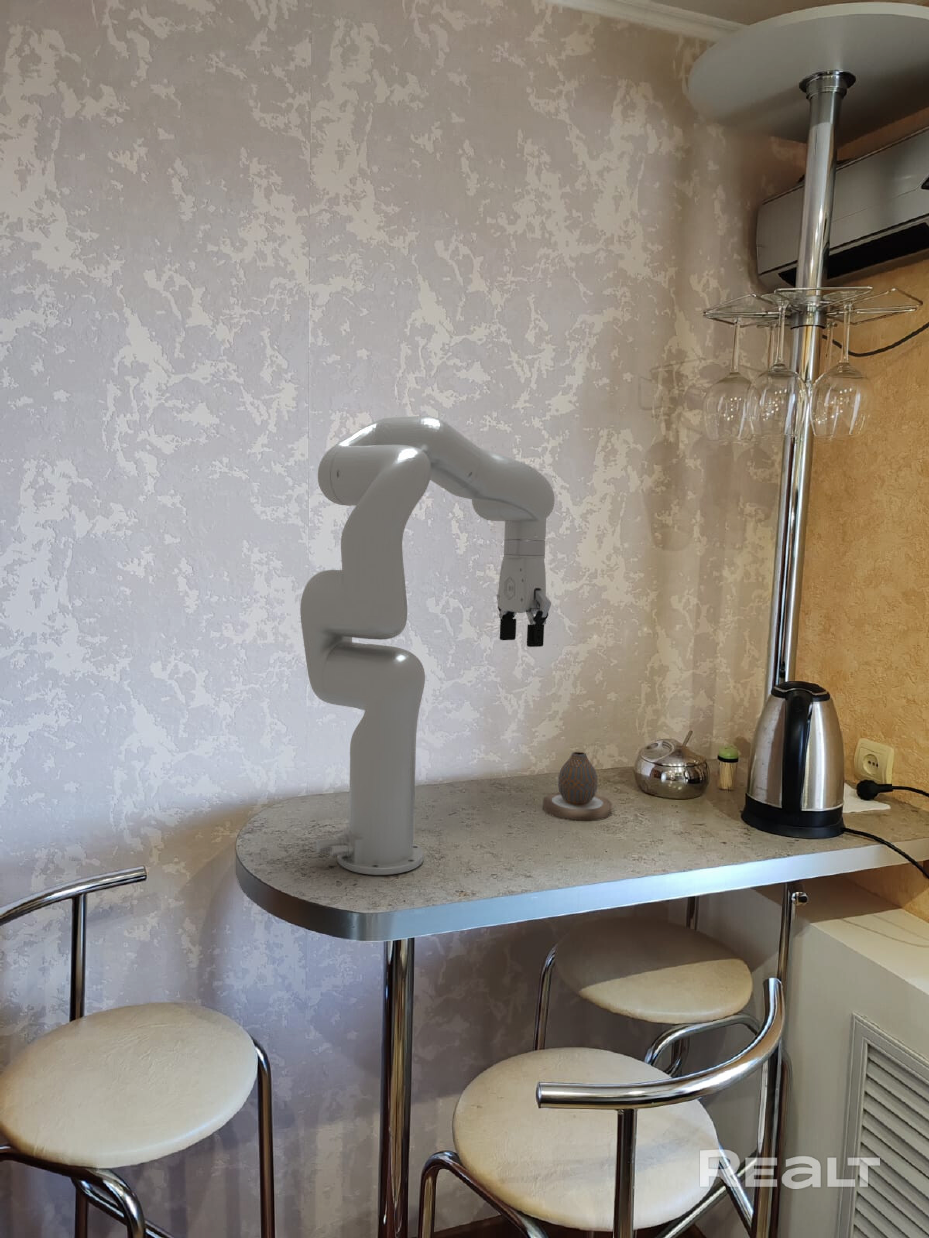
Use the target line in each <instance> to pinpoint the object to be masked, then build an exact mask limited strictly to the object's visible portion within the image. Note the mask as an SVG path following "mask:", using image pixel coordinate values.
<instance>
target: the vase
mask: <svg viewBox="0 0 929 1238" xmlns="http://www.w3.org/2000/svg"><path fill="white" fill-rule="evenodd" d="M598 781H599V780H598V775H597V771H596V769H595V767H594V766H593V764H592V762H591V761H590V760H589V758H588V755H587V753H586V752H584V751H573V752H572V753H571V755H570V756H569V758H568V759H567V760H566V762H564V764H563V765H562V767H561V768H560V770H559V773H558V779H557V783H558V784H557V786H558V791H559V792H560V794H561V796H562V798H563V799H564V800H565V801H566V802H567V803H569V804H574V805H585V804H587V803H589V802H590V801H591V800H592V799H593V798H594V796H595V795H597V790H598V783H599V782H598Z"/></svg>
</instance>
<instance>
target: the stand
mask: <svg viewBox="0 0 929 1238" xmlns="http://www.w3.org/2000/svg"><path fill="white" fill-rule="evenodd" d="M542 799H543V801H542V809H544V810H543V811H544V812H545V811H546V812H547V813H546V812H545V813H546V814H548V815H550V814H551V815H550V816H552V815H553V816H552V817H554V816H555V818H557V819H562V818H564V819H563V820H567V819H569V820H568V821H575V820H576V821H577V822H579V821H580V822H589V821H590V822H592V821H591V820H594V821H599V820H598V819H601V820H603V819H602V818H604V819H607V818H608V816H609V815H610V814H612V804H613V803H612V802H611V800H609V799H607V798H606V797H604V796H601V795H598V794H595V796H594V798H593V799H592V800H591V801H590V802H589V803H587V804H585V805H574V804H569V803H567V802H566V801H565V800H564V799H563V798H562V796H561V794H560V792H554V793H550V794H547V795H546V796H544V797H543V798H542ZM610 816H611V815H610ZM610 816H609V817H610ZM606 817H607V818H606ZM576 821H575V822H576Z"/></svg>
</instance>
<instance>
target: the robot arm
mask: <svg viewBox="0 0 929 1238" xmlns="http://www.w3.org/2000/svg"><path fill="white" fill-rule="evenodd" d="M317 469H318V470H317V483H318V486H319V489H320V492H322V494H323V495H324V496H325V498H326V499H327V500H328V501H330V502H331V503H334V504H336V505H339V506H347V507H348V506H349V507H350V506H354V508H353V510H352V511H351V512H350V514H349V516H348V517H347V520H346V522H345V524H344V526H343V528H342V532H341V536H340V537H341V538H340V555H341V556H340V557H341V569H327V570H323V571H320V572H317V573H316V574H314V575H313V576H312V577H311V578H309V580H308V581H307V583H306V584H305V587H304V589H303V591H302V594H301V595H302V596H301V599H300V605H299V606H300V608H299V609H300V613H299V614H300V623H301V630H302V631H301V632H302V639H303V647H304V654H305V662H306V669H307V675H308V680H309V684H310V687H311V689H312V691H313V693H314V695H315V696H317V698H318V699H319V700H321V701H322V702H325V703H327V704H329V705H330V704H331V705H336V706H341V707H346V708H347V707H348V708H352V709H357V710H362V711H364V712H363V716H362V717H361V719H360V721H359V723H358V724H357V725H356V727H355V728H354V730H353V732H352V735H351V739H350V744H349V745H350V746H349V790H348V791H349V795H348V801H349V802H348V803H349V805H348V807H349V808H348V827H347V826H346V827H342V828H341V830H342V832H341V833H342V834H341V833H340V834H337V836H336V837H333V838H329V837H326V838H319V839H316V840H315V850H316V853H317V854H322V853H329V855H330V856H331V857H335V856H337V857H336V858H337V863H338V864H339V865H340V866H341V867H342V868H344V869H345V870H347V871H351V872H353V873H354V872H355V873H357V874H364V875H370V876H371V875H373V876H374V875H375V876H387V875H396V874H402V873H406V872H410V871H412V870H414V869H416V868H418V867H420V865H422V864H423V861H424V850H423V849H422V848H421V846H419V845H418V844H416V843H414V832H415V828H414V827H415V798H416V797H415V795H416V755H417V754H416V752H417V731H418V722H419V721H418V720H419V714H420V713H419V712H420V707H421V702H422V700H423V699H422V698H423V696H424V695H423V694H424V689H425V681H426V672H425V668H424V666H423V663H422V661H421V660H420V659H419V657H418V656H416V654H414V653H412V652H410V651H409V650H406V649H404V648H401V647H396V646H390V645H382V644H376V643H375V644H373V643H361V642H360V643H359V642H354V641H353V638H356V639H363V640H364V639H366V640H390V639H393V638H396V637H397V636H400V634H402V632H404V630H405V628H406V625H407V621H408V599H407V588H406V577H405V567H404V557H403V556H404V555H403V554H404V553H403V539H404V532H405V528H406V526H407V524H408V521H409V519H410V516H412V512H413V511H414V509H415V508H416V507H417V505H418V503H419V501H420V500H421V499H422V498H423V496H424V495H425V494H426V492H427V489H428V488H429V483H430V481H431V482H433V483H435V484H436V485H437V486H439V487H440V488H443V489H444V490H445V491H446V492H448V493H450V494H452V495H453V496H456V497H460V498H462V499H463V498H464V499H467V500H471V504H472V508H473V509H474V510H473V511H475V513H476V514H477V515H478V516H479V517H480V518H482V519H483V520H486V521H491V522H504V535H503V536H504V540H503V543H504V544H503V556H502V560H501V564H500V569H499V570H500V571H499V579H498V589H497V591H498V592H497V594H496V600H497V608H498V612H499V614H498V617H499V619H500V620H499V621H500V622H499V623H500V624H499V640H500V641H515V640H516V638H517V637H516V636H517V618H515V616H516V615H517V613H518V614H523V613H526V616H527V619H528V622H529V623H528V624H527V627H526V628H527V629H526V633H527V634H526V646H527V647H529V648H535V647H536V648H539V647H543V646H544V640H545V639H544V638H545V635H544V634H545V625H546V624H547V619H548V617H549V612H550V608H551V605H552V602H551V600H550V599H549V598H548V597H547V595H546V594H547V585H546V584H547V577H546V564H545V560H546V559H545V558H546V555H545V554H546V534H547V533H546V532H547V530H546V529H547V518H548V517H549V516H550V515H551V514H552V512H553V510H554V507H555V493H554V490H553V486H552V485H551V483H550V481H549V480H548V479H547V478H546V476H544V475H543V473H541V472H539V471H538V470H537V469H536V468H534V467H533V466H531V465H529V464H527V463H525V462H522V461H519V460H517V459H513V458H510V457H507V456H504V455H501V454H499V453H496V452H493V451H489V450H486V449H482V448H480V447H478V446H477V445H476V444H475V443H473V442H472V441H471V440H469V439H468V438H467V437H465V436H464V435H463V434H461V433H460V432H459V431H457V430H456V429H455V428H454V427H452V426H451V425H450V424H448V423H447V422H446V421H444V420H442V419H440V418H438V417H435V416H429V415H418V416H416V415H415V416H413V415H412V416H395V417H385V418H381V419H378V420H375V421H374V422H372V423H369V424H368V425H366V426H364V427H363V428H360V429H359V430H357V431H356V432H354V433H353V434H351V435H349V436H348V437H346V438H344V439H343V440H341V441H340V442H338V443H336V444H335V445H334V446H332V447H331V448H330V449H328V450H327V451H326V452H325V454H324V455H323V457H322V458H321V461H320V463H319V465H318V468H317Z"/></svg>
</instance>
